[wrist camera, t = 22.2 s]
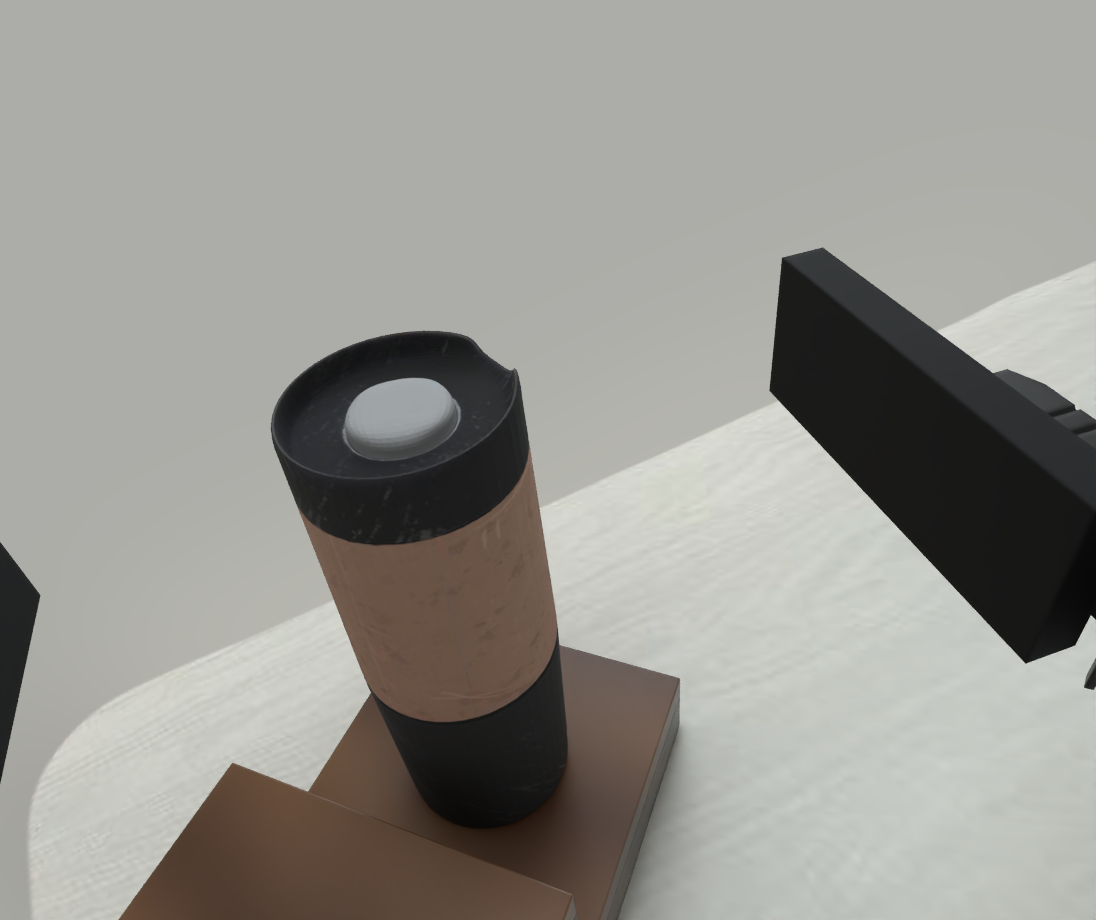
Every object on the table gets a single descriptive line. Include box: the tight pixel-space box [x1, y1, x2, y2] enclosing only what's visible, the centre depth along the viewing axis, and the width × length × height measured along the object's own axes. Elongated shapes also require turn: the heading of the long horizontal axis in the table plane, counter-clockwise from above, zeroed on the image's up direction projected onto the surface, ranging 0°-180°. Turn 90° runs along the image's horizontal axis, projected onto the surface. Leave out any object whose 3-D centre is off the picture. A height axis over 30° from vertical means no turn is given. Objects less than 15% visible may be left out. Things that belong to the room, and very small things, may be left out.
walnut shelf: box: [119, 645, 680, 920], centre depth 34 cm, size 22×14×10 cm, turn 158°
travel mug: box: [271, 331, 568, 828], centre depth 31 cm, size 8×8×20 cm
